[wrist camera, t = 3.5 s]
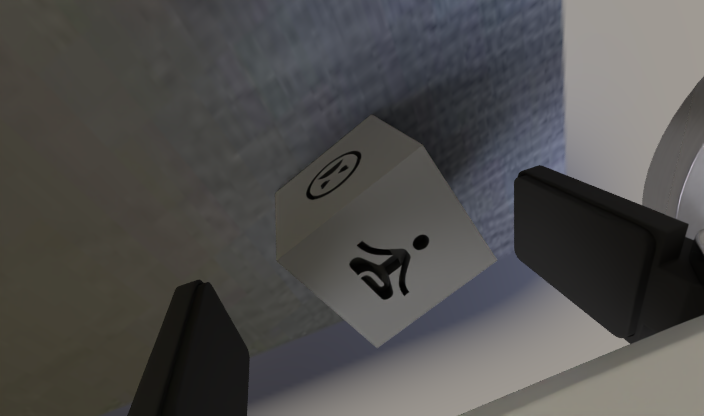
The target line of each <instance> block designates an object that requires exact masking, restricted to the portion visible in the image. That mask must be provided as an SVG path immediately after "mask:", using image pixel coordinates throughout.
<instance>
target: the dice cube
mask: <svg viewBox="0 0 704 416" xmlns="http://www.w3.org/2000/svg"><path fill="white" fill-rule="evenodd" d="M275 211H276V261H277V262H278V263H279V264H281V265H282V266H283V267H284V268H285V269H286V270H287V271H289V272H290V273H291V274H292V275H293V276H294V277H296V278H297V279H298V280H299V281H300V282H301V283H303V284H304V285H305V286H306V287H307V288H308V289H309V290H311V291H312V292H313V293H314V294H315V295H316V296H318V297H319V298H320V299H321V300H322V301H323V302H324V303H326V304H327V305H328V306H329V307H330V308H331V309H333V310H334V311H335V312H336V313H337V314H338V315H339V316H341V317H342V318H343V319H344V320H345V321H346V322H348V323H349V324H350V325H351V326H352V327H353V328H355V329H356V330H357V331H358V332H359V333H360V334H362V335H363V336H364V337H365V338H366V339H367V340H368V341H370V342H371V343H372V344H373V345H374V346H375V347H376V348H378V347H380V346H381V345H382V344H383V343H385V342H386V341H388V340H389V339H390V338H392V337H393V336H394V335H396V334H397V333H399V332H400V331H401V330H403V329H404V328H406V327H407V326H408V325H410V324H411V323H412V322H414V321H415V320H416V319H418V318H419V317H421V316H422V315H423V314H425V313H426V312H427V311H429V310H430V309H432V308H433V307H434V306H436V305H437V304H438V303H440V302H441V301H442V300H444V299H445V298H446V297H448V296H449V295H451V294H452V293H453V292H455V291H456V290H457V289H459V288H460V287H462V286H463V285H464V284H466V283H467V282H468V281H470V280H471V279H473V278H474V277H475V276H477V275H478V274H479V273H481V272H482V271H484V270H485V269H486V268H488V267H489V266H490V265H492V264H493V263H495V262H496V261H497V259H496V257H495V256H494V254H493V253H492V251H491V250H490V248H489V247H488V245H487V244H486V242H485V240H484V239H483V237H482V236H481V234H480V233H479V231H478V230H477V228H476V227H475V225H474V223H473V222H472V220H471V219H470V217H469V216H468V214H467V213H466V211H465V210H464V208H463V206H462V205H461V203H460V202H459V200H458V199H457V197H456V196H455V194H454V193H453V191H452V189H451V188H450V186H449V185H448V183H447V182H446V180H445V179H444V177H443V175H442V174H441V172H440V171H439V169H438V168H437V166H436V165H435V163H434V162H433V160H432V158H431V157H430V155H429V154H428V152H427V151H426V149H425V148H424V146H423V145H422V144H420V143H419V142H417V141H415V140H414V139H412V138H410V137H409V136H407V135H405V134H404V133H402V132H400V131H399V130H397V129H395V128H394V127H392V126H390V125H388V124H387V123H385V122H383V121H382V120H380V119H378V118H377V117H375V116H373V115H372V114H371V115H370V116H369V117H368V118H366V119H365V120H364V121H363V122H361V123H360V124H359V125H358V126H357V127H355V128H354V129H353V130H352V131H350V132H349V133H348V134H347V135H346V136H344V137H343V138H342V139H341V140H339V141H338V142H337V143H336V144H335V145H333V146H332V147H331V148H330V149H329V150H327V151H326V152H325V153H324V154H322V155H321V156H320V157H319V158H318V159H316V160H315V161H314V162H313V163H311V164H310V165H309V166H308V167H307V168H305V169H304V170H303V171H302V172H300V173H299V174H298V175H297V176H296V177H294V178H293V179H292V180H291V181H289V182H288V183H287V184H286V185H285V186H283V187H282V188H281V189H280V190H279V191H277V192H276V193H275Z"/></svg>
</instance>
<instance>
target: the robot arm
mask: <svg viewBox="0 0 704 416" xmlns="http://www.w3.org/2000/svg"><path fill="white" fill-rule="evenodd" d="M688 226H689V224H688V223H685V222H683V221H680V220H678V219H675V218H673V217H670V216H667V215H665V214H662V213H660V212H657V211H655V210H652V209H650V208H647V207H645V206H642V205H640V204H637V203H635V202H632V201H630V200H627V199H625V198H622V197H620V196H617V195H614V194H612V193H609V192H607V191H604V190H602V189H599V188H597V187H594V186H592V185H589V184H587V183H584V182H581V181H579V180H577V179H574V178H572V177H569V176H567V175H564V174H561V173H559V172H556V171H554V170H551V169H549V168H546V167H544V166H540V165H539V166H536V167H533V168H530V169H527V170H524V171H521V172H520V173H519V175H518V178H516V179H515V181H514V250H515V253H516V255H517V257H518V258H519V260H520V261H522V262H523V263H524V264H526V265H527V266H528V267H529V268H530V269H532V270H533V271H534V272H536V273H537V274H538V275H539V276H540V277H542V278H543V279H544V280H546V281H547V282H548V283H549V284H550V285H552V286H553V287H554V288H556V289H557V290H558V291H559V292H561V293H562V294H563V295H564V296H566V297H567V298H568V299H569V300H570V301H572V302H573V303H574V304H575V305H577V306H578V307H579V308H581V309H582V310H583V311H584V312H585V313H587V314H588V315H589V316H590V317H592V318H593V319H594V320H596V321H597V322H598V323H599V324H601V325H602V326H603V327H604V328H606V329H607V330H608V331H609V332H611V333H612V334H613V335H615V336H616V337H619V338H624V339H625V340H626V341H628V342H629V343H630V345H627V346H625V347H622V348H620V349H618V350H615V351H613V352H610V353H608V354H605V355H603V356H600V357H598V358H596V359H593V360H591V361H588V362H586V363H583V364H581V365H579V366H576V367H574V368H571V369H569V370H567V371H564V372H562V373H559V374H557V375H554V376H552V377H549V378H547V379H545V380H542V381H540V382H538V383H535V384H533V385H530V386H528V387H526V388H523V389H521V390H518V391H516V392H513V393H511V394H509V395H506V396H504V397H502V398H499V399H497V400H494V401H492V402H489V403H487V404H485V405H482V406H480V407H478V408H475V409H473V410H471V411H468V412H466V413H463V414H461V415H458V416H704V229H702V230H700V231H698V232H697V234H696V235H695V238H694V240H692V239H690V238H687V237H685V236H686V233H687V229H688ZM248 382H249V352H248V349H247V347H246V345H245V343H244V341H243V340H242V338H241V336H240V334H239V332H238V331H237V329H236V327H235V325H234V324H233V322H232V320H231V318H230V317H229V315H228V313H227V311H226V310H225V308H224V306H223V304H222V302H221V301H220V299H219V297H218V295H217V294H216V292H215V290H214V288H213V287H212V285H211V284H210V283H209V282H207V283H203V282H202V281H201V280H196V281H193V282H190V283H187V284H184V285H181V286H178V287H177V288H176V290H175V292H174V295H173V297H172V300H171V303H170V305H169V308H168V311H167V313H166V316H165V319H164V321H163V324H162V327H161V329H160V332H159V334H158V337H157V340H156V342H155V345H154V348H153V350H152V353H151V355H150V357H149V360H148V363H147V365H146V368H145V371H144V373H143V376H142V379H141V381H140V384H139V386H138V389H137V392H136V394H135V397H134V400H133V402H132V405H131V408H130V410H129V413H128V415H127V416H247V403H248V402H247V401H248Z"/></svg>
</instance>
